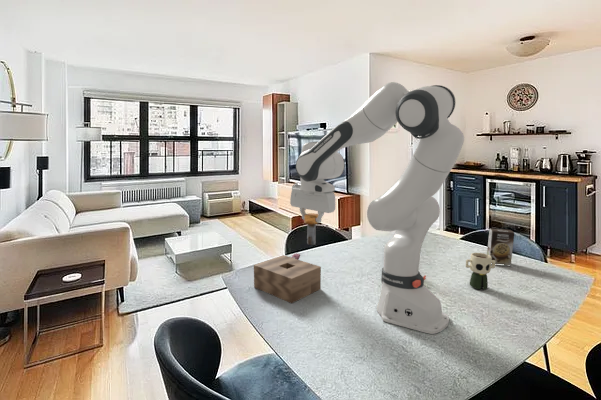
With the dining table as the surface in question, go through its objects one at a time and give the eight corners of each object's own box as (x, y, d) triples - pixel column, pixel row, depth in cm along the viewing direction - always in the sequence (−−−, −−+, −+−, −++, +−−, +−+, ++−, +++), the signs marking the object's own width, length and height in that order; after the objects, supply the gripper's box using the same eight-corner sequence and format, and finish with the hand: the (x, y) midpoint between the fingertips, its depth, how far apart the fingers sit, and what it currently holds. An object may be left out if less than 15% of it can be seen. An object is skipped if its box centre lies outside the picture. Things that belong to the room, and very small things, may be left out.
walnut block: (320, 289, 130) (320, 266, 128) (291, 303, 118) (291, 278, 117) (283, 275, 143) (283, 255, 142) (254, 287, 131) (253, 264, 130)
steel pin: (321, 243, 133) (322, 214, 131) (311, 246, 129) (312, 217, 127) (310, 240, 136) (311, 212, 135) (301, 243, 132) (301, 214, 130)
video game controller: (292, 273, 150) (299, 260, 148) (283, 268, 150) (290, 255, 149) (296, 265, 160) (303, 253, 158) (288, 260, 160) (294, 248, 158)
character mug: (467, 290, 129) (470, 257, 127) (460, 283, 136) (462, 252, 134) (497, 291, 128) (500, 258, 126) (488, 284, 135) (491, 252, 133)
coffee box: (488, 264, 157) (492, 231, 155) (485, 260, 164) (488, 227, 161) (511, 267, 155) (515, 232, 152) (507, 262, 161) (510, 229, 158)
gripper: (286, 183, 133) (286, 217, 136) (327, 188, 120) (326, 226, 122) (297, 182, 138) (297, 215, 140) (338, 187, 124) (337, 223, 126)
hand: (311, 220), depth 131 cm, fingers closed on steel pin, 6 cm apart
